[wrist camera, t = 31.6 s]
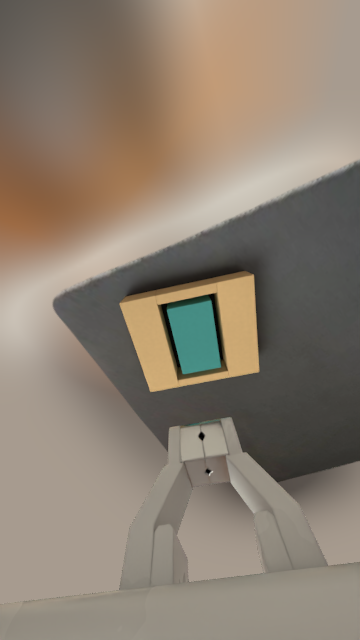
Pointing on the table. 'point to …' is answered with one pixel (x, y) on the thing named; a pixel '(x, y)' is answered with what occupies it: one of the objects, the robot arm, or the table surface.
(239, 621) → the robot arm
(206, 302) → the teal block
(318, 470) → the table surface
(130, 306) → the wooden slot frame
